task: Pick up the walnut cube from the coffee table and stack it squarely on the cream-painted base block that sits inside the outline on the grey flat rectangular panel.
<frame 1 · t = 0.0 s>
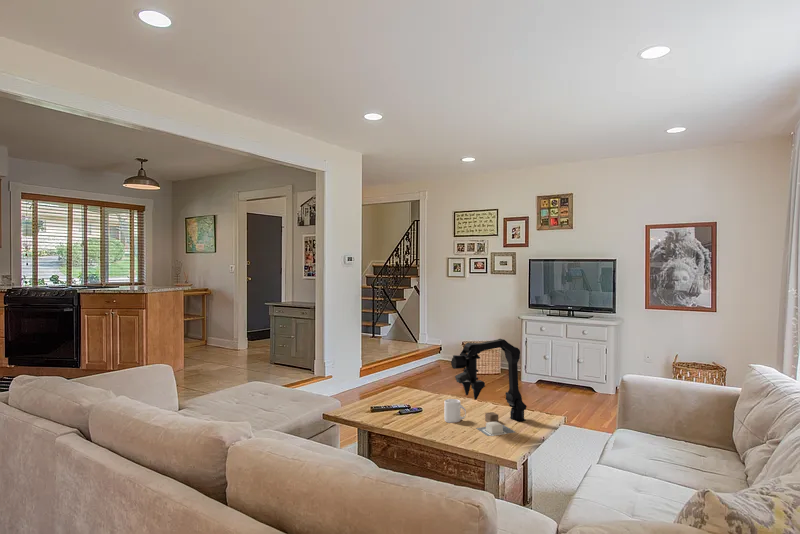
hand: (471, 397, 247), 15 cm above the table, fingers open, 9 cm apart
mug: (455, 421, 253), on the table
base block: (494, 431, 235), point 1 cm above the table, touching grey flat rectangular panel
walnut cube: (491, 423, 251), on the table
grey flat rectangular panel: (495, 431, 238), on the table
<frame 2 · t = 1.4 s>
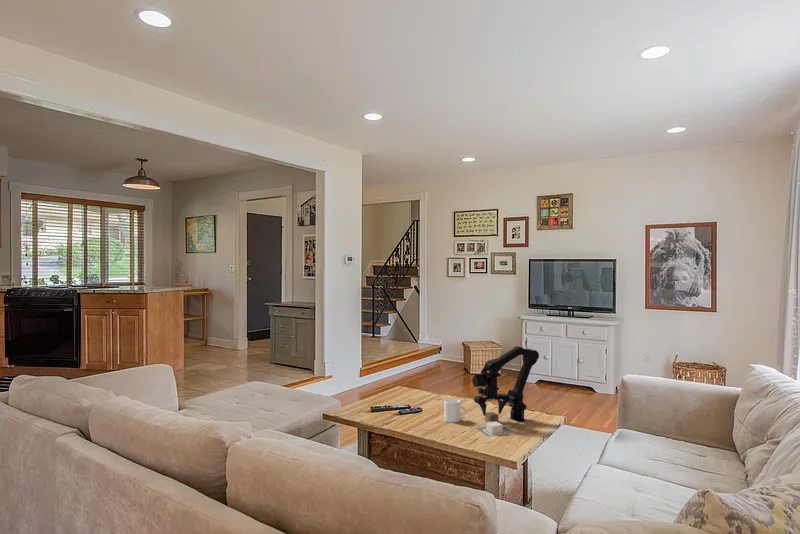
hand: (492, 414, 251), 4 cm above the table, fingers open, 9 cm apart
nothing on the table moved.
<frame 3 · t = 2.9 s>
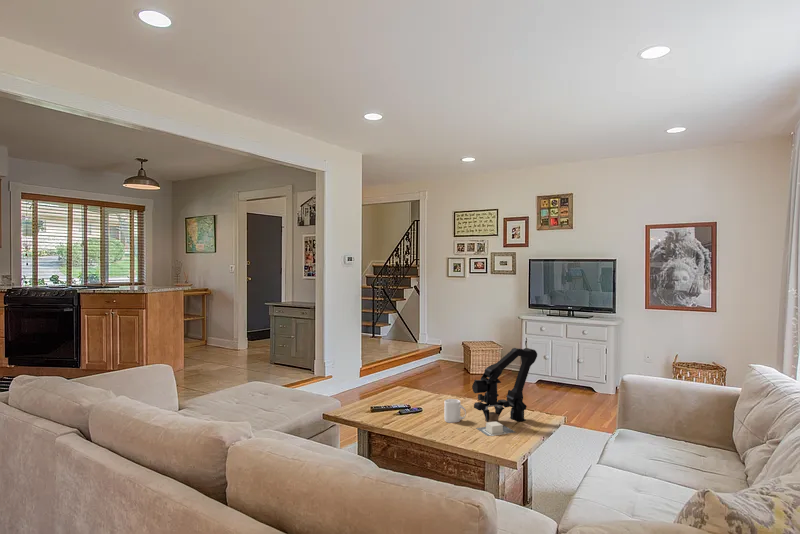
hand: (491, 421, 251), 1 cm above the table, fingers closed on walnut cube, 5 cm apart
walnut cube: (491, 423, 251), on the table, touching gripper
everything else where it was.
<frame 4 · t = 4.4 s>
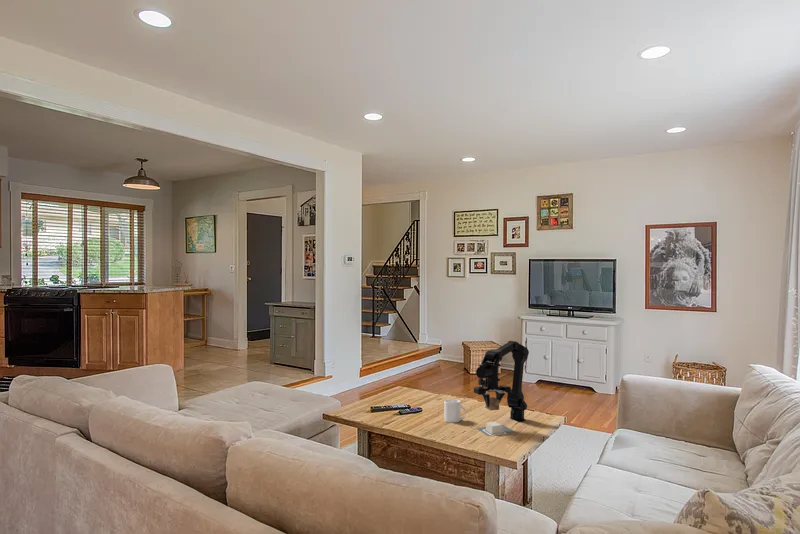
hand: (492, 406, 241), 12 cm above the table, fingers closed on walnut cube, 5 cm apart
walnut cube: (492, 408, 241), point 11 cm above the table, touching gripper
everything else where it was.
when the fingers open (7 cm above the table, at t = 6.2 s): walnut cube drops 1 cm, resting on base block.
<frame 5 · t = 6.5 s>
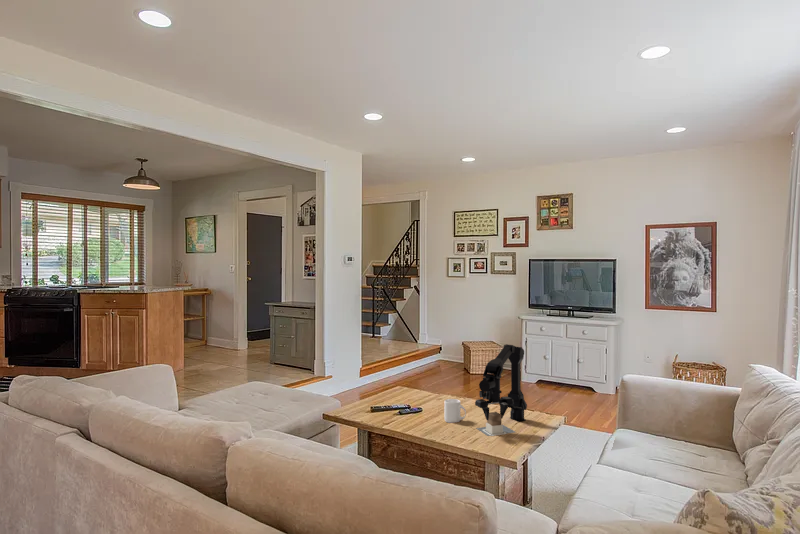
hand: (494, 419, 235), 7 cm above the table, fingers open, 8 cm apart
base block: (494, 431, 235), point 1 cm above the table, touching grey flat rectangular panel, walnut cube
walnut cube: (494, 423, 235), point 5 cm above the table, touching base block
everything else where it was.
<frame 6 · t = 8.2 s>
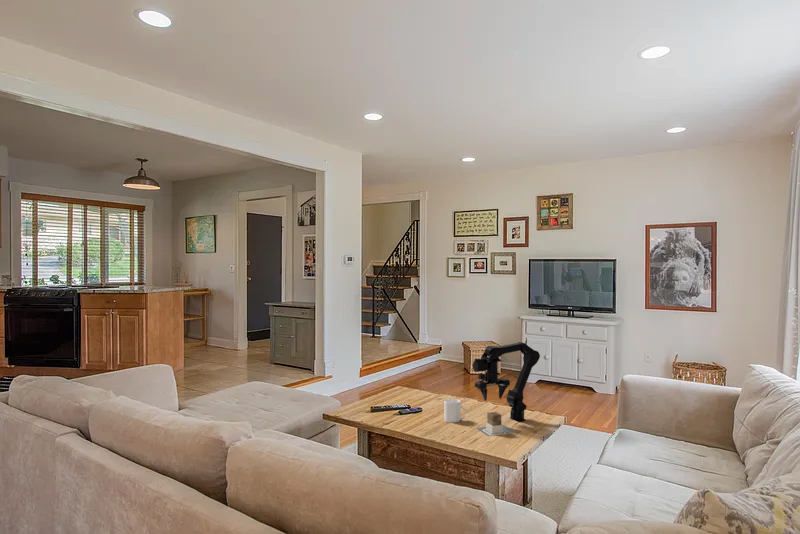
hand: (492, 399, 251), 12 cm above the table, fingers open, 9 cm apart
nothing on the table moved.
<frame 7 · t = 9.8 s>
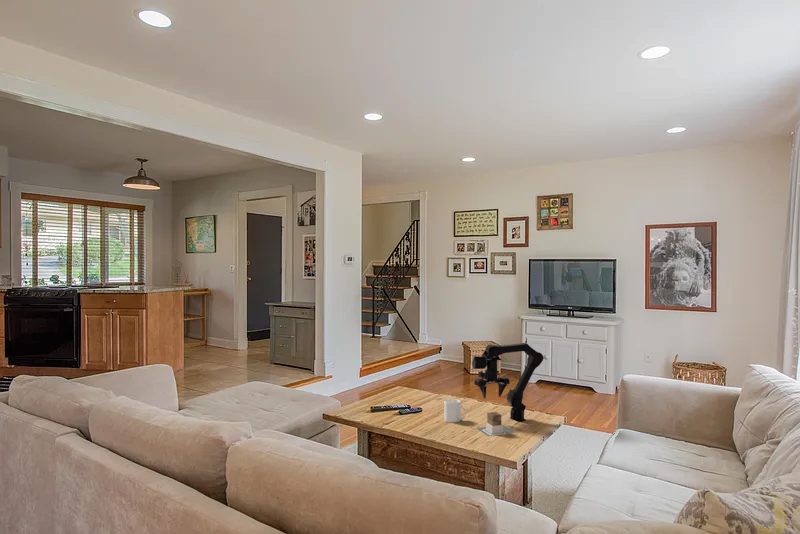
hand: (492, 397, 254), 13 cm above the table, fingers open, 9 cm apart
nothing on the table moved.
at the end: walnut cube 0.0 cm off-centre on the base block, point 4.0 cm above the base block's base; walnut cube tilted 0°; base block moved 0.0 cm from its start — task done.
